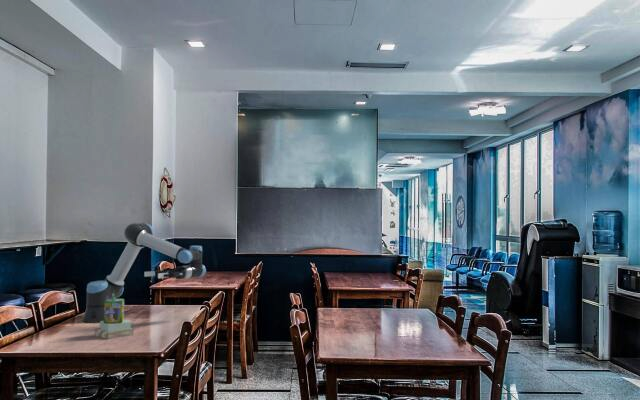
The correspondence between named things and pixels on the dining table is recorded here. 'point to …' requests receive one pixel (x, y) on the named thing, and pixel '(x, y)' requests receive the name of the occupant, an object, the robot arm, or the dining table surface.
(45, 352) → the dining table surface
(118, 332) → the bottom block
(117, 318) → the chalk box
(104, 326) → the top block
